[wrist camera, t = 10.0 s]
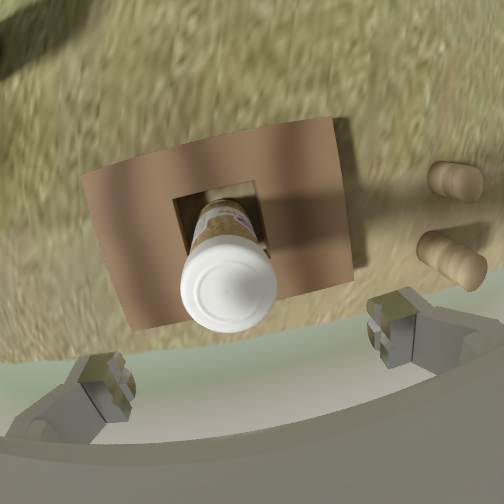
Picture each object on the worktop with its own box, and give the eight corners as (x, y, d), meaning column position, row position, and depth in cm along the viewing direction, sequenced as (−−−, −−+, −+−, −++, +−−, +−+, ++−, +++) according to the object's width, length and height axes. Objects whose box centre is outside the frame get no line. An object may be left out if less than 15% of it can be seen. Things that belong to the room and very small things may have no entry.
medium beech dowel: (442, 229, 30) (490, 253, 23) (438, 260, 31) (483, 288, 24) (418, 232, 30) (466, 258, 23) (414, 264, 31) (459, 294, 24)
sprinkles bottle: (259, 213, 27) (298, 273, 15) (233, 259, 28) (249, 349, 16) (210, 188, 26) (206, 227, 14) (186, 236, 27) (163, 313, 15)
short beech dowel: (450, 159, 28) (482, 164, 23) (452, 191, 29) (484, 200, 24) (425, 163, 28) (457, 168, 23) (428, 196, 29) (460, 206, 24)
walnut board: (321, 118, 25) (331, 116, 23) (343, 270, 30) (353, 280, 28) (90, 172, 25) (79, 175, 22) (137, 317, 29) (132, 331, 27)
